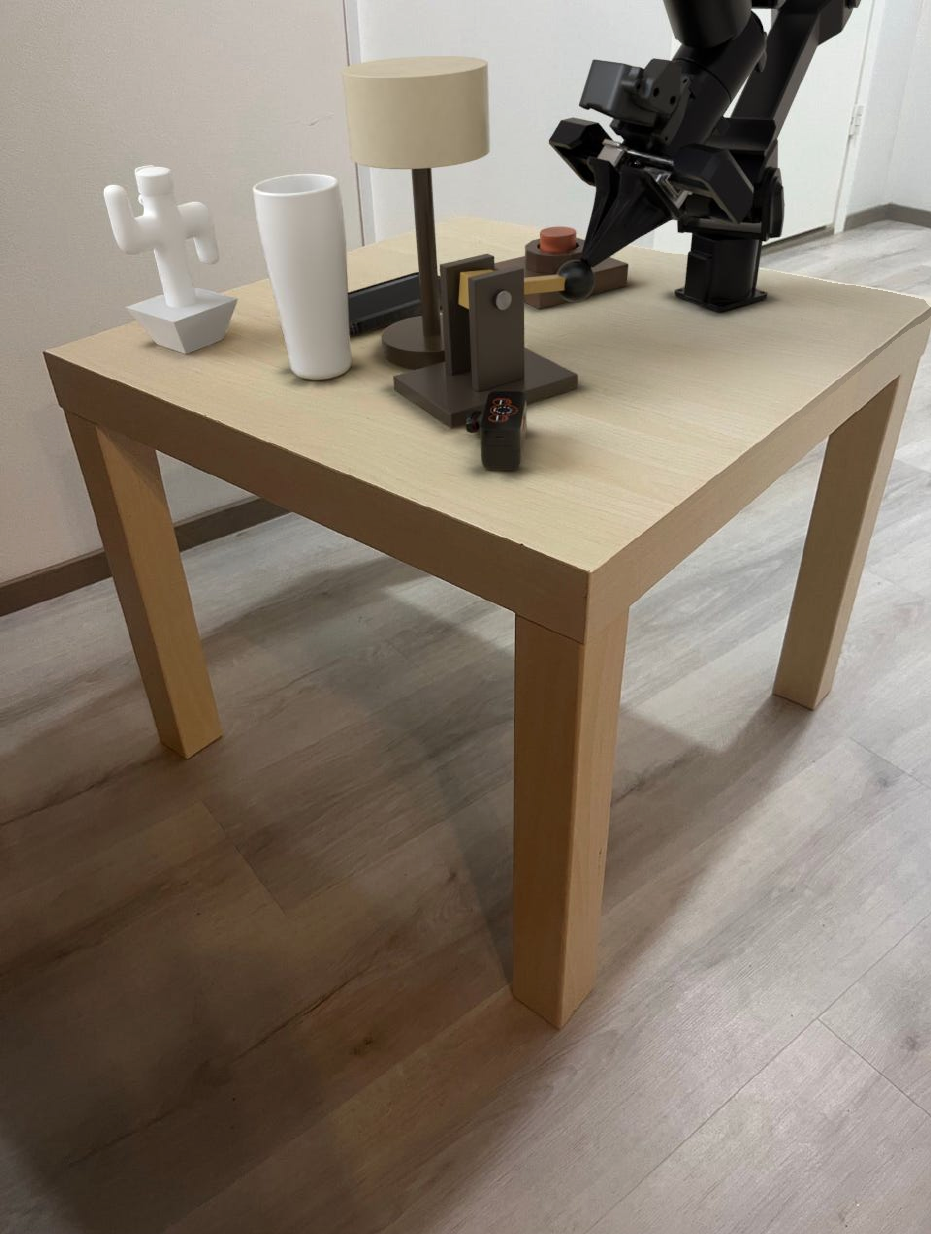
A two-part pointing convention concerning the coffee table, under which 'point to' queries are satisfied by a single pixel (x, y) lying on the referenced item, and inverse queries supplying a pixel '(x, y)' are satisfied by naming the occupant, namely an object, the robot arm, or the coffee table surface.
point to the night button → (558, 239)
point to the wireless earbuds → (501, 429)
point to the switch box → (549, 263)
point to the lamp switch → (482, 347)
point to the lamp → (418, 160)
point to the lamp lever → (547, 282)
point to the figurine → (171, 261)
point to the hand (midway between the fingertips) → (586, 263)
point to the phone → (385, 303)
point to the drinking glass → (307, 269)
